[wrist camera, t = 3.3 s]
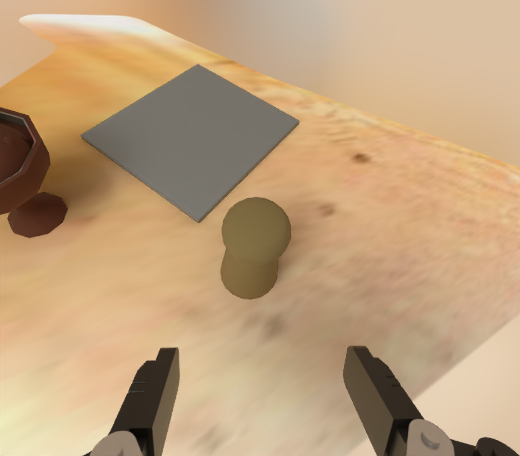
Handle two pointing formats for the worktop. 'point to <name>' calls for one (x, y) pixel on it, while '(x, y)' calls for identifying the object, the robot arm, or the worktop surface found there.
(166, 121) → the charcoal mat
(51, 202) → the ice cream bowl
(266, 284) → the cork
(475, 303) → the worktop surface
